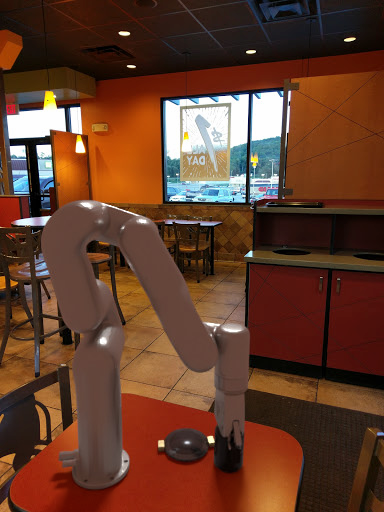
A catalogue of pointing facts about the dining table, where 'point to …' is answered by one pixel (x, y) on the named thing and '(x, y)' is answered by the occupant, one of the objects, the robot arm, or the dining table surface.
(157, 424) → the dining table surface
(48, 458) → the dining table surface
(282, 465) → the dining table surface
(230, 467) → the supplement bottle
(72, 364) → the robot arm
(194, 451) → the base
